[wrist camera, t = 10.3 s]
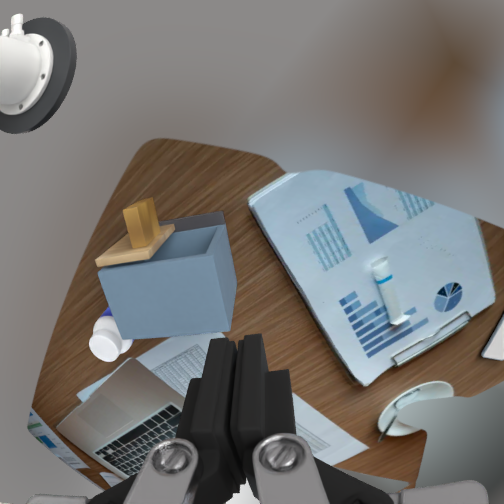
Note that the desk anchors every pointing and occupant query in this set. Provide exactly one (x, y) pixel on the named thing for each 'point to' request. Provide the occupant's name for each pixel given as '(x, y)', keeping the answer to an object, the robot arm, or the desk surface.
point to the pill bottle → (107, 338)
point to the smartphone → (495, 343)
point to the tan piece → (138, 235)
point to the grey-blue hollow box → (176, 283)
